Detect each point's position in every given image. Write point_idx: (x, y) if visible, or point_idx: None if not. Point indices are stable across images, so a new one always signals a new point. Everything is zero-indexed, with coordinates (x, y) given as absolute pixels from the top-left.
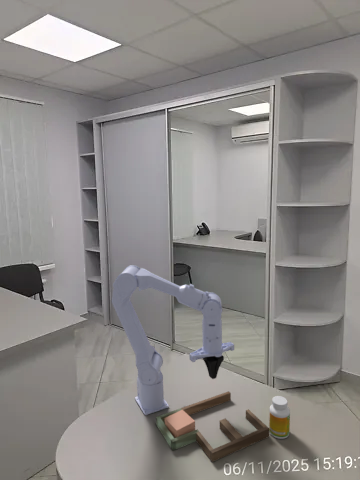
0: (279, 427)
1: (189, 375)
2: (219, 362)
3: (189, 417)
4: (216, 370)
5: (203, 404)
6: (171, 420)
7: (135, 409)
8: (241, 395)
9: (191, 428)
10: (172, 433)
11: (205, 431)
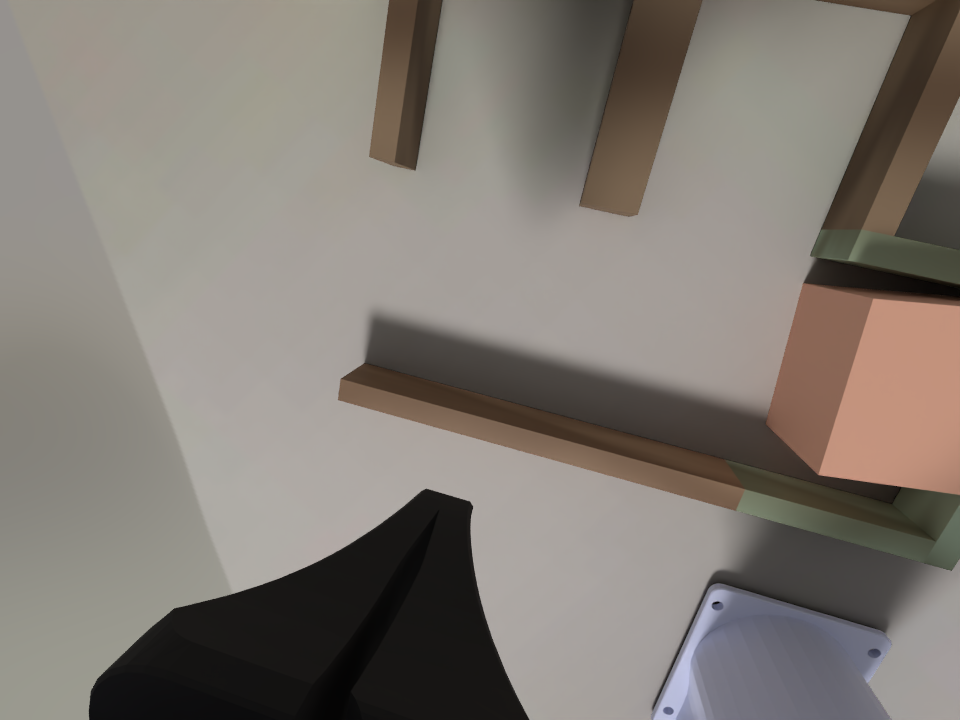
0: None
1: None
2: (296, 617)
3: (864, 366)
4: (400, 543)
5: (567, 433)
6: None
7: None
8: (280, 347)
9: (882, 295)
10: None
11: (720, 263)
